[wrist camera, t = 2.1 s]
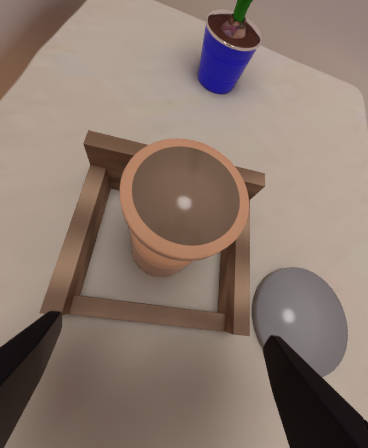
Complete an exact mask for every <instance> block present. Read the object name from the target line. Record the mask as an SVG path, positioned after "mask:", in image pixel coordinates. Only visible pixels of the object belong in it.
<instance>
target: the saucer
mask: <svg viewBox="0 0 368 448" xmlns="http://www.w3.org/2000/svg"><path fill="white" fill-rule="evenodd" d="M252 316H253V324H254V328H255V332H256V335H257V337H258V340H259V342H260V344H261V346H262V347H263V346H264V344H265V343H266V341H267V339H268V338H269V336H270V335H276V336H280V337H281V338H282V339H283V340H284V341H285V342H286V343H287V344H288V345H289V346H290V347H291V348H292V349H293V350H294V351H295V352H296V353H298V354H299V355H300V356H301V357H302V358H303V359H304V360H305V361H306V362H307V363H308V364H309V365H310V366H311V367H312V368H313V369H314V370H315V371H316V372H317V373H318V374H319V375H320V376H321V377H324V376H326V375H328V374H330V373H331V372H332V371H334V370H335V369H336V367H337V366H338V365H339V364H340V362H341V361H342V358H343V356H344V354H345V351H346V346H347V339H348V329H347V322H346V317H345V313H344V311H343V308H342V305H341V303H340V301H339V299H338V297H337V296H336V294H335V293H334V291H333V290H332V288H331V287H330V286H329V285H328V284H327V283H326V282H325V281H324V280H323V279H322V278H320V277H319V276H318V275H316V274H315V273H313V272H311V271H309V270H306V269H302V268H294V267H292V268H285V269H280V270H277V271H274V272H272V273H271V274H269V275H268V276H266V277H265V278H264V279H263V280H262V282H261V283H260V285H259V286H258V288H257V290H256V293H255V296H254V300H253V307H252Z"/></svg>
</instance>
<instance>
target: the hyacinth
mask: <svg viewBox="0 0 368 448" xmlns="http://www.w3.org/2000/svg"><path fill="white" fill-rule="evenodd" d="M252 1H253V0H237V4H236V7H235V10H234V12H233V11H230V10H215V11H212V12H211V13H209V14H208V16H207V18H206V28H205V34H204V41H203V47H202V53H201V60H200V66H199V72H198V78H199V81H200V83H201V84H202V85H203V86H204V87H205V88H206V89H208V90H209V91H211V92H214V93H218V94H226V93H229V92H230V91H231V90H232V89H233V87H234V85H235V84H236V82H237V80H238V79H239V77H240V76H241V74H242V72H243V70H244V69H245V67H246V65H247V64H248V62H249V60H250V59H251V57H252V55H253V54H254V52H255V51H256V49H257V48H258V47H259V45H260V44H261V40H262V37H261V33H260V31H259V29H258V28H257V27H256V26H255V24H254V23H253V22H251V21H250V20H249V19H247V18H246V17H245V14H246V12H247V9H248V7H249V5H250V3H251V2H252Z"/></svg>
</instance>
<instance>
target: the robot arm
mask: <svg viewBox="0 0 368 448" xmlns="http://www.w3.org/2000/svg"><path fill="white" fill-rule="evenodd" d="M61 329H62V312H61V311H54V310H51V311H49V312H47V313H46V314H44V315H43V316H42V317H40V318H39V319H38V320H36V321H35V322H34V323H32V324H31V325H30V326H28V327H27V328H26V329H24V330H23V331H22V332H20V333H19V334H18V335H16V336H15V337H14V338H12V339H11V340H9V341H8V342H7V343H5V344H4V345H3V346H1V347H0V448H4V447H5V445H6V443H7V441H8V439H9V437H10V435H11V433H12V432H13V430H14V428H15V426H16V424H17V422H18V420H19V418H20V417H21V415H22V413H23V411H24V409H25V407H26V405H27V403H28V402H29V400H30V398H31V396H32V394H33V392H34V390H35V388H36V387H37V385H38V383H39V381H40V379H41V377H42V375H43V373H44V370H45V368H46V366H47V363H48V361H49V358H50V356H51V354H52V351H53V349H54V346H55V344H56V342H57V339H58V337H59V334H60V332H61ZM263 354H264V358H265V362H266V367H267V371H268V376H269V380H270V385H271V388H272V392H273V396H274V399H275V402H276V405H277V408H278V411H279V415H280V418H281V421H282V424H283V427H284V430H285V434H286V437H287V440H288V443H289V446H290V448H368V422H367V421H366V420H364V419H363V417H362V416H361V415H360V414H359V413H358V412H357V411H356V410H355V409H354V408H353V407H352V406H351V405H350V404H349V403H348V402H347V401H346V400H345V399H343V398H342V397H341V396H340V395H339V394H338V393H337V392H336V391H335V390H334V389H333V388H332V387H331V386H330V385H329V384H328V383H327V382H326V381H325V380H324V379H323V378H322V377H321V376H320V375H319V374H318V373H317V372H316V371H315V370H314V369H313V368H312V367H311V366H310V365H309V364H308V363H307V362H306V361H305V360H304V359H303V358H302V357H301V356H300V355H299V354H298V353H296V352H295V351H294V350H293V349H292V348H291V347H290V346H289V345H288V344H287V343H286V342H285V341H284V340H283V339H282V338H281V337H280V336H276V335H270V336H269V338H268V339H267V341H266V343H265V344H264V346H263Z"/></svg>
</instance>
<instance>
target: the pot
mask: <svg viewBox="0 0 368 448" xmlns="http://www.w3.org/2000/svg"><path fill="white" fill-rule="evenodd" d="M120 201H121V207H122V212H123V216H124V219H125V221H126V223H127V225H128V227H129V229H130V231H131V241H132V253H133V257H134V260H135V262H136V263H137V265H138V266H139V267H140V268H141V269H142V270H143V271H144V272H146V273H147V274H149V275H152V276H156V277H167V276H170V275H173V274H175V273H177V272H178V271H180V270H181V269H183V268H184V267H185V266H187V265H188V264H190V263H191V262H193V261H196V260H201V259H205V258H208V257H210V256H213V255H215V254H216V253H218V252H220V251H222V250H223V249H225V248H227V247H228V246H229V245H230V244H232V243H233V242H234V241H235V240H236V239H237V238H238V236H239V235H240V233H241V232H242V231H243V228H244V226H245V224H246V221H247V218H248V213H249V197H248V192H247V188H246V185H245V183H244V180H243V178H242V176H241V175H240V173H239V172H238V170H237V169H236V167H235V166H234V165H233V164H232V163H231V162H230V161H229V160H228V159H227V158H226V157H225V156H224V155H222V154H221V153H220V152H218V151H217V150H215V149H214V148H212V147H210V146H208V145H205V144H203V143H200V142H197V141H193V140H187V139H167V140H161V141H158V142H155V143H152V144H150V145H148V146H146V147H144V148H143V149H141V150H140V151H139V152H138V153H136V154H135V155H134V156H133V157H132V159H131V160H130V161H129V163H128V164H127V166H126V167H125V170H124V172H123V174H122V178H121V182H120Z"/></svg>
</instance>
